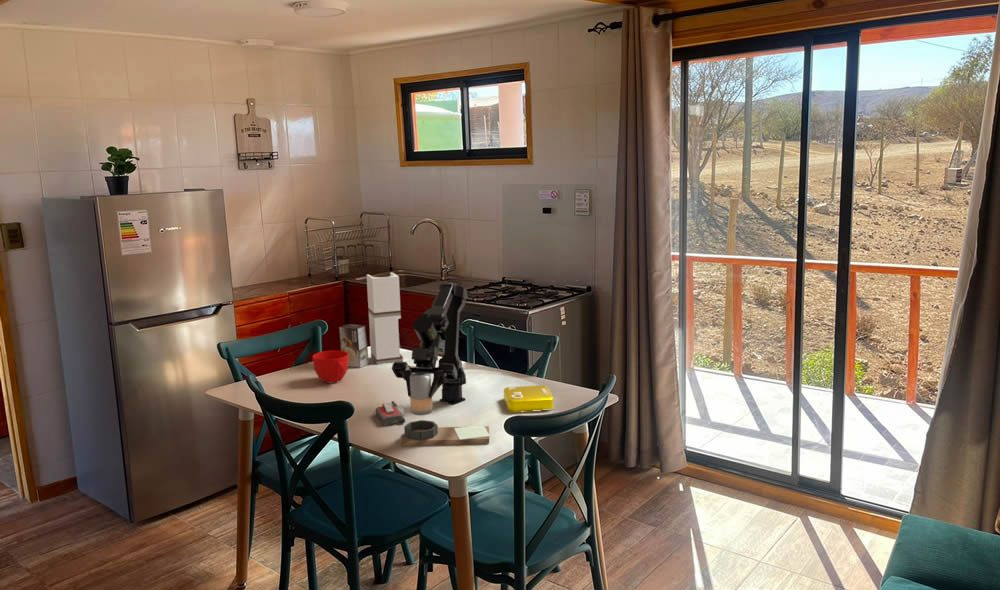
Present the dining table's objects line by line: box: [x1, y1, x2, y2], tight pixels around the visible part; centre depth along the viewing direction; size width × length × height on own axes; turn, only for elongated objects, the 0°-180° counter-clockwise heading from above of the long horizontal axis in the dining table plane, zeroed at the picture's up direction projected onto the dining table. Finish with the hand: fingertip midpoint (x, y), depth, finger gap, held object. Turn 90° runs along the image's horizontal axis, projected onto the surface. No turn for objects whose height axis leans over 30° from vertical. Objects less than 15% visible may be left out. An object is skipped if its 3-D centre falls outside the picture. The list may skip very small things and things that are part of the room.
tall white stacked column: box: [366, 272, 404, 365], centre depth 299 cm, size 11×11×35 cm
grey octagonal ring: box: [403, 419, 439, 440], centre depth 216 cm, size 10×10×2 cm
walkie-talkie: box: [375, 400, 406, 427], centre depth 236 cm, size 9×4×20 cm
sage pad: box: [454, 425, 491, 440], centre depth 216 cm, size 9×9×1 cm
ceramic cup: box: [312, 349, 349, 383], centre depth 272 cm, size 13×17×10 cm
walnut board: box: [401, 425, 490, 447], centre depth 216 cm, size 25×10×2 cm, turn 91°
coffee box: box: [338, 323, 370, 368], centre depth 293 cm, size 9×6×16 cm
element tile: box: [503, 385, 554, 413], centre depth 244 cm, size 15×15×5 cm
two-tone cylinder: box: [409, 373, 433, 416], centre depth 214 cm, size 6×6×11 cm
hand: (419, 396), depth 212 cm, fingers closed on two-tone cylinder, 6 cm apart
